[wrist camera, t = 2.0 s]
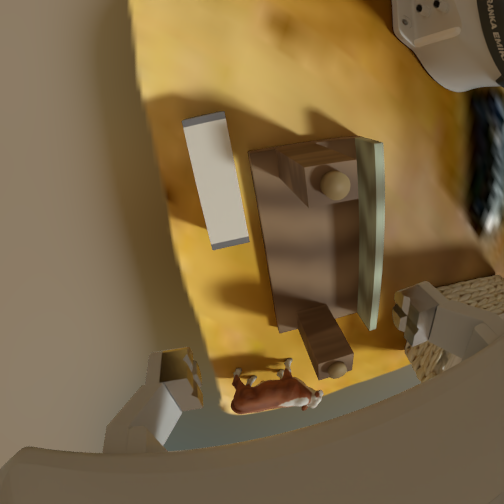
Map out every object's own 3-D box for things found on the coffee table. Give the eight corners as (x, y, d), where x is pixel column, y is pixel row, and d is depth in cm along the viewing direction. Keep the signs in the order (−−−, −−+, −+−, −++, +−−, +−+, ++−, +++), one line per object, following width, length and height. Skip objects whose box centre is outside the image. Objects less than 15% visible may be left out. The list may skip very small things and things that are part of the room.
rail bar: (185, 119, 26) (181, 120, 22) (221, 111, 26) (224, 111, 22) (211, 230, 32) (212, 250, 28) (243, 223, 32) (249, 242, 28)
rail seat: (247, 151, 28) (270, 176, 19) (357, 135, 29) (421, 155, 19) (277, 327, 39) (298, 391, 30) (359, 305, 40) (396, 359, 30)
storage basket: (393, 355, 48) (431, 416, 35) (420, 281, 40) (478, 343, 27) (475, 328, 51) (512, 371, 38) (501, 265, 43) (549, 306, 30)
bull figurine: (311, 370, 45) (326, 410, 38) (228, 383, 44) (233, 426, 36) (314, 352, 43) (331, 394, 36) (225, 365, 42) (231, 410, 34)
